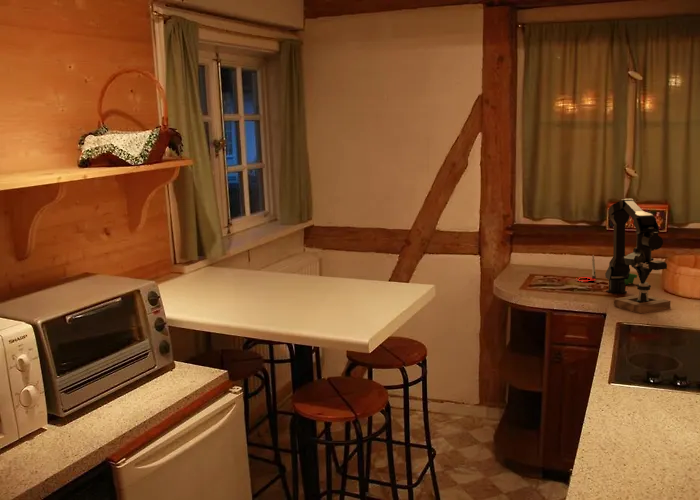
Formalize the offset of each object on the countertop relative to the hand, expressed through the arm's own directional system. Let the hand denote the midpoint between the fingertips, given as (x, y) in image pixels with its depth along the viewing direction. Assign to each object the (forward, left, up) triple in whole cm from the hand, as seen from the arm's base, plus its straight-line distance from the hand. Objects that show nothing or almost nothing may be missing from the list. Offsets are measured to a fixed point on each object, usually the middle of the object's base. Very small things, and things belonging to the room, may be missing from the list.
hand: (642, 283), depth 271 cm
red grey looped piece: (-49, +15, -10) cm, 52 cm away
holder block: (0, 0, -10) cm, 10 cm away
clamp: (-36, +27, -10) cm, 46 cm away
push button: (0, 0, -10) cm, 10 cm away
